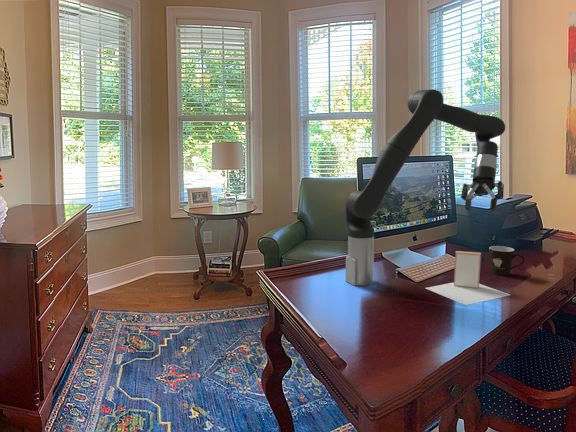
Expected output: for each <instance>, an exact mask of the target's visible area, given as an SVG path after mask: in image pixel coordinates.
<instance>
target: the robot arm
mask: <svg viewBox="0 0 576 432" xmlns="http://www.w3.org/2000/svg"><path fill="white" fill-rule="evenodd" d="M407 108H408V110H409V112H410V113H411V114H412V115H411V117H410V118H409V120H408V121H407V122H406V123H405V124H404V125H403V126H402V127H400V129H398V130H397V131H396V132H395V133H394V134H392V135H391V137H390V138H388V140H387V142H385V144H384V146H383V147H382V149H381V150H380V152H379V154H378V156H377V159H376V161H375V165H374V169H373V173H372V175H371V178H370V179H369V182H368V183H367V184H366V186H365V187H364V188H363V190H356V191H353V192H351V193H350V194H349V195H348V196H347V199H346V203H345V218H346V219H345V222H346V223H345V224H346V229H347V255H346V256H345V282H346V281H347V283H349V284H351V285H352V286H368V285H369V286H370V285H372V284H373V283H374V267H375V265H374V264H375V263H374V261H375V260H374V259H375V256H374V254H375V253H374V252H375V229H374V227H373V225H372V222H371V218H372V217H373V216H374V215H376V213H377V211H378V210H379V208H380V205H381V204H382V202H383V199H384V198H385V195H386V194H387V192H388V190H389V188H390V187H391V185H392V184H393V182H394V180H395V179H396V177H397V176H398V174H399V172H400V171H401V169H402V168H403V167H404V165H405V163H406V162H407V160H408V158H409V157H410V155H411V153H412V152H413V150H414V148H415V147H416V145H417V144H418V142H419V141H420V139H421V137H422V136H423V135H424V133H425V132H426V131H427V129H428V128H429V126H430V125H431V124H432V123H433V121H434V120H437V121H440V122H443V123H446V124H447V125H448V124H449V125H451V126H454V127H456V128H458V129H460V130H463V131H466V132H469V133H474V136H475V140H476V141H475V142H476V148H477V150H476V156H475V161H474V165H473V174H472V182H471V184H467V183H463V184H462V189H461V195H460V198H461V199H462V200H463V201H465V202H464V203H465V205H464V208H465V209H466V211H467V212H470V211H471V209H472V201H473V200H474V199H475V198H477V196H478V197H479V196H480V197H481V196H488V195H489V196H490V197H491V199H490V205H489V209H490V210H491V211H492V212H494V211H495V210H496V209H497V206H498V205H497V204H498V203H497V202H498V201H499V200H503V199H504V188H505V187H504V186H505V184H504V183H503V182H502V181H500V180H499V181H498V182H495V181H496V174H497V168H498V167H497V165H498V161H497V158H498V153H499V152H498V149H499V148H498V147H499V146H498V144H497V143H496V142H495V141H493V140H492V141H490V140H491V139H493V138H497V137H500V136H502V135H503V133H504V132H505V131H506V124H505V122H504V121H503V120H502V119H501V118H500V117H498V116H494V115H486V114H480V113H479V114H478V113H477V112H474V111H472V110H469V109H467V108H462V107H458V106H455V105H450V104H446V103H444V96H443V94H442V92H441V91H439V90H437V89H422V90H420V89H419V90H417V91H414V92H413V93H411V94H410V96H409V97H408V100H407ZM495 188H496V189H497V194H495V193H494V191H493V190H494V189H495Z"/></svg>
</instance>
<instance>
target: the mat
mask: <svg viewBox="0 0 576 432" xmlns="http://www.w3.org/2000/svg"><path fill="white" fill-rule="evenodd" d="M425 289H426V290H428V291H431V292H433V293H435V294H438V295H440V296H442V297H445V298H448V299H450V300H452V301H454V302H457V303H460V304H461V305H464V307H467V306H468V305H472V304H477V303H482V302H483V303H484V302H487V301H490V300H491V301H492V300H496V299H499V298H504V297H509V296H511V294H509V293H507V292H503V291H501V290H499V289H495V288H492V287H489V286H486V285H484V284H481V283H479V289H478V288H469V287H459V286H454V282H448V283H443V284H439V285H434V286H429V287H425Z"/></svg>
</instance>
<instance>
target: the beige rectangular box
mask: <svg viewBox="0 0 576 432" xmlns="http://www.w3.org/2000/svg"><path fill="white" fill-rule="evenodd" d="M481 257H482V252H476V251H462V250H455V258H454V276H453V283H454V286H459V287H469V288H478V289H479V284H480V276H481V274H480V273H481Z"/></svg>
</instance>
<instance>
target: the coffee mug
mask: <svg viewBox="0 0 576 432" xmlns="http://www.w3.org/2000/svg"><path fill="white" fill-rule="evenodd" d="M488 250H489V251H488V252H489V268H490V273H491V274H492V275H496V276H501V277H502V276H503V277H504V276H505V277H507V276H510V274H511V270H513V269H515V268H517V267H520V266H521V265H523V264H524V263H525V257H524V256H523V255H522V254H519V253H518V254H517V253H515V248H512V247H509V246H504V245H503V246H501V245H496V246H495V245H492V246H489V248H488ZM516 257H520V258H521V259H522V262H521V263H520V264H517V265H514V266H512V264H513V260H514V258H516Z"/></svg>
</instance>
